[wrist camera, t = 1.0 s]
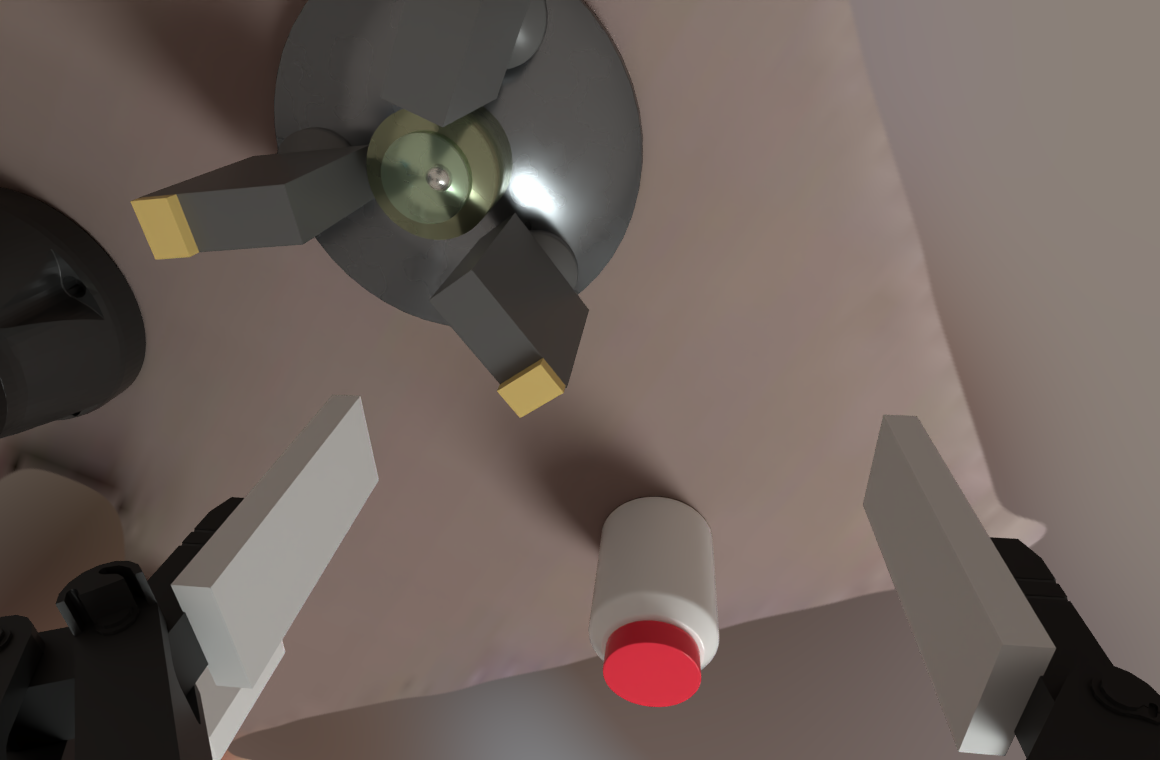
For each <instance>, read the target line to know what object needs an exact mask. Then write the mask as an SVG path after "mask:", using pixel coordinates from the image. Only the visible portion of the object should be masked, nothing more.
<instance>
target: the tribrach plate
mask: <svg viewBox="0 0 1160 760" xmlns="http://www.w3.org/2000/svg"><path fill="white" fill-rule="evenodd" d="M404 3H405V0H308V2H307V3H306V4H305V6H304V7H303V9H302V11H301V13H300V14H299V16H298V18H297V20H296V21H295V23H294V25H293V26H292V29H291V31H290V34H289V36H288V39H287V42H286V44H285V47H284V49H283V52H282V57H281V61H280V65H279V69H278V73H277V80H276V89H275V98H274V114H275V131H276V139H277V146H278V149H279V147H280V145H281V143H282V142H283V141H284V140H285V138H286V137H288V136H289V135H290V134H292V133H294V132H297V131H300V130H302V129H305V128H310V127H322V128H326V129H329V130H332V131H334V132H336V133H338V134H340V135H341V136H342V137H344V138H345V139H346V140H347V141H348V142H349V143H350V144H351V145H352V146H361V145H369V147H368V152H367V160H366V167H367V176H368V181H369V184H370V188H371V191H372V193H373V195H374V197H375V198H374V199H372V200H371V201H369V202H368V203H366V204H365V205H363V206H361V207H360V208H358V209H357V210H355V211H354V212H352V213H351V214H349V215H348V216H346V217H345V218H343V219H341V220H340V221H338V222H337V223H335V224H334V225H332V226H331V227H329V228H328V229H326V230H324V231H323V232H321V233H320V234H318V235H317V236H315V238H316V239H317V241H318V242H319V243H320V244H321V246H322V247H323V248H324V249H325V251H326V252H327V253H328V254H329V256H330V257H331V258H332V259H333V260H334V261H335V262H336V263H337V264H338V265H339V266H340V267H341V268H342V269H343V270H344V271H345V272H346V273H347V274H348V275H349V276H350V277H351V278H352V279H354V280H355V281H356V282H357V283H359V284H360V285H361V286H362V287H363V288H365V289H366V290H367V291H369V292H370V293H372V294H373V295H375V296H376V297H378V298H380V299H381V300H383V301H384V302H386V303H388V304H390V305H392V306H394V307H396V308H398V309H399V310H401V311H403V312H406V313H408V314H411V315H414V316H416V317H419V318H421V319H424V320H428V321H431V322H435V323H439V324H443V325H449V324H448V323H447V321H446V320H445V319H444V318H443V317H442V316H441V314H440V313H439V312H438V311H437V310H436V309H435V307H434V306H433V305H432V304H431V303H430V301H429V300H430V298H431V297H432V296H433V295H434V294H435V292H436V291H437V290H438V289H439V287H440V286H441V285H442V284H443V283H444V281H445V280H446V279H447V278H448V277H449V275H450V274H451V273H452V272H453V271H454V269H455V268H456V267H457V266H458V265H459V263H460V262H461V261H462V260H463V259H464V257H465V256H466V255H467V254H468V253H469V251H470V250H471V249H472V248H473V247H474V245H475V244H476V243H477V242H478V240H479V239H480V238H482V237H483V236H484V235H486V234H487V233H488V232H490V231H491V230H492V229H494V228H495V227H496V226H498V225H499V224H501V223H502V222H503V221H505V220H506V219H507V218H509V217H510V216H511V215H513V214H514V213H516V214H517V216H518V217H519V218H520V220H521V221H522V222H523V224H524V225H525V226H526V228H527V229H528V230H543V231H547V232H550V233H553V234H555V235H557V236H558V237H560V238H561V239H563V240H564V241H565V242H566V243H567V244H568V245H569V246H570V248H571V249H572V251H573V252H574V255H575V257H576V259H577V263H578V280H577V283H576V286H575V289H574V291H575V292H576V294H579V293H580V292H581V291H583V290H584V289H585V288H586V287H587V286H588V285H589V284H590V283H591V282H592V281H593V280H594V279H595V278H596V277H597V276H598V275H599V274H600V272H601V271H602V270H603V268H604V267H605V266H606V265H607V263H608V262H609V261H610V259H611V258H612V256H613V255H614V253H615V251H616V249H617V248H618V246H619V244H620V242H621V241H622V239H623V237H624V235H625V232H626V230H627V227H628V225H629V222H630V220H631V217H632V214H633V210H634V207H635V203H636V199H637V195H638V191H639V186H640V179H641V171H642V163H643V134H642V126H641V118H640V110H639V106H638V102H637V98H636V94H635V90H634V86H633V83H632V80H631V78H630V75H629V73H628V70H627V68H626V65H625V63H624V60H623V58H622V56H621V54H620V52H619V50H618V49H617V47H616V45H615V43H614V41H613V39H612V38H611V36H610V34H609V33H608V31H607V30H606V28H605V27H604V26H603V24H602V23H601V22H600V20H599V19H598V17H597V16H596V15H595V13H594V12H593V11H592V10H591V8H590V7H589V6H588V5H587V4H586V3H585V2H584V1H583V0H546V4H547V12H548V23H547V29H546V33H545V37H544V39H543V42H542V44H541V46H540V47H539V49H538V50H537V52H536V53H535V54H534V55H533V56H532V57H531V58H530V59H529V60H527V61H526V62H525V63H523V64H521V65H519V66H516V67H514V68H511V69H507V70H506V72H505V75H504V78H503V81H502V84H501V87H500V90H499V93H498V96H497V99H495V100H493V101H491V102H489V103H487V104H485V105H484V106H482V107H480V108H478V109H476V110H474V111H472V112H470V113H469V114H467V115H465V116H463V117H461V118H459V119H457V120H456V121H454V122H452V123H450V124H448V125H446V126H444V127H441V126H439V125H437V124H435V123H432V122H430V121H428V120H426V119H424V118H422V117H420V116H418V115H416V114H414V113H411V112H409V111H407V110H405V109H403V108H401V107H399V106H397V105H395V104H392V103H390V102H388V101H386V100H384V99H382V98H380V97H381V93H382V89H383V85H384V81H385V77H386V73H387V69H388V65H389V61H390V58H391V54H392V50H393V46H394V42H395V38H396V34H397V30H398V26H399V22H400V18H401V14H402V11H403V7H404ZM449 326H450V325H449Z"/></svg>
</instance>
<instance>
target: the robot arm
mask: <svg viewBox="0 0 1160 760" xmlns="http://www.w3.org/2000/svg"><path fill="white" fill-rule="evenodd" d="M145 347H146V340H145V329H144V324H143V320H142V316H141V313H140V310H139V307H138V304H137V302H136V299H135V297H134V295H133V293H132V291H131V289H130V287H129V285H128V284H127V282H126V280H125V278H124V277H123V275H122V274H121V272H120V271H119V269H118V268H117V267H116V265H115V264H114V262H113V261H112V260H111V259H110V257H109V256H108V255H107V254H106V253H105V252H104V250H103V249H102V248H101V247H100V246H99V245H98V244H97V243H96V242H95V241H94V240H93V239H92V238H91V237H90V236H89V235H88V234H87V233H86V232H84V231H83V230H82V229H81V228H80V227H78V226H77V225H76V224H75V223H73V222H72V221H71V220H69V219H68V218H67V217H65V216H64V215H62V214H61V213H59V212H58V211H56V210H54V209H53V208H51V207H49V206H48V205H46V204H44V203H42V202H40V201H38V200H36V199H34V198H32V197H29V196H27V195H24V194H22V193H19V192H16V191H13V190H9V189H5V188H1V187H0V438H4V437H7V436H10V435H14V434H17V433H20V432H23V431H26V430H29V429H32V428H34V427H37V426H40V425H43V424H46V423H49V422H52V421H55V420H65V419H71V418H75V417H78V416H82V415H85V414H88V413H90V412H92V411H94V410H96V409H98V408H100V407H101V406H103V405H104V404H106V403H107V402H109V401H110V400H112V399H113V398H114V397H116V396H117V395H119V394H120V393H122V392H123V391H124V390H126V389H127V388H128V387H129V386H130V385H131V384H132V383H133V382H134V380H135V379H136V377H137V376H138V374H139V372H140V370H141V367H142V364H143V361H144V356H145ZM378 480H379V479H378V474H377V470H376V465H375V461H374V456H373V451H372V447H371V442H370V438H369V433H368V429H367V424H366V419H365V415H364V410H363V406H362V401H361V397H360V396H347V395H332V396H331V397H330V399H329V400H328V401H327V402H326V403H325V404H324V406H323V407H322V408H321V409H320V410H319V411H318V413H317V414H316V415H315V416H314V417H313V418H312V420H311V421H310V422H309V423H308V424H307V426H306V427H305V428H304V429H303V430H302V431H301V433H300V434H299V435H298V436H297V437H296V438H295V440H294V441H293V442H292V443H291V444H290V445H289V447H288V448H287V449H286V450H285V451H284V453H283V454H282V455H281V456H280V457H279V458H278V460H277V461H276V462H275V463H274V464H273V465H272V467H271V468H270V469H269V470H268V471H267V472H266V474H265V475H264V476H263V477H262V478H261V479H260V481H259V482H258V483H257V484H256V485H255V487H254V488H253V489H252V490H251V491H250V492H249V494H248V495H247V496H246V497H245V498H236V497H231V498H230V499H228V500H227V501H225V502H224V503H222V504H220V505H219V506H217V507H216V508H214V509H213V510H211V511H210V512H209V513H208V514H207V515H206V516H205V517H204V518H203V520H202V521H201V522H200V523H199V524H198V525H197V526H196V527H195V530H194V532H191V533H190V534H189V535H188V536H187V537H186V539H185V540H184V541H183V542H182V546H178V547H177V549H176V550H175V551H174V552H173V553H172V554H171V555H170V556H169V557H168V559H167V560H166V561H165V562H164V563H163V564H162V565H161V566H160V567H159V569H158V570H157V571H156V572H155V573H154V574H153V575H152V576H151V577H150V579H149V580H148V581H147V580H146V578H145V576H144V574H143V572H142V570H141V568H140V567H139V565H138V564H136V563H133V562H130V561H114V562H110V563H106V564H102V565H99V566H96V567H94V568H92V569H90V570H88V571H86V572H84V573H82V574H81V575H79V576H78V577H76V578H75V579H74V580H72V581H71V582H69V583H68V584H67V586H66V587H65V588H64V589H63V590H62V591H61V592H60V593H59V596H58V599H57V602H56V606H57V607H58V609H59V611H60V613H61V614H62V616H63V618H64V619H65V621H66V623H67V625H68V626H69V627H65V628H60V629H55V630H49V631H44V632H39V633H38V632H37V630H36V629H35V627H34V625H33V624H32V623H31V621H30V620H29V619H28V618H27V617H23V616H19V615H13V616H5V617H0V760H213V758H212V753H211V748H210V742H209V737H208V732H207V727H206V721H205V716H204V711H203V705H202V700H201V695H200V692H199V690H198V688H197V686H196V684H195V683H196V681H197V680H198V679H199V677H200V676H201V674H202V673H203V671H204V670H205V668H206V667H207V666H208V669H209V671H210V673H211V675H212V677H213V680H214V682H215V684H216V686H227V687H238V688H250V689H253V687H254V685H255V684H256V682H257V680H258V679H259V677H260V676H261V674H262V672H263V671H264V669H265V667H266V666H267V664H268V662H269V661H270V659H271V657H272V656H273V654H274V652H275V651H276V649H277V647H278V646H279V644H280V642H281V641H282V639H283V638H284V636H285V634H286V633H287V631H288V629H289V628H290V626H291V624H292V623H293V621H294V619H295V618H296V616H297V614H298V613H299V611H300V609H301V608H302V606H303V604H304V603H305V601H306V599H307V598H308V596H309V595H310V593H311V591H312V590H313V588H314V586H315V585H316V583H317V581H318V580H319V578H320V576H321V575H322V573H323V571H324V570H325V568H326V566H327V565H328V563H329V561H330V560H331V558H332V556H333V555H334V553H335V552H336V550H337V548H338V547H339V545H340V543H341V542H342V540H343V538H344V537H345V535H346V533H347V532H348V530H349V528H350V527H351V525H352V523H353V522H354V520H355V518H356V517H357V515H358V513H359V512H360V510H361V509H362V507H363V505H364V504H365V502H366V500H367V499H368V497H369V495H370V494H371V492H372V490H373V489H374V487H375V485H376V484H377V482H378ZM863 506H864V509H865V511H866V514H867V517H868V519H869V522H870V524H871V527H872V529H873V532H874V535H875V537H876V540H877V542H878V545H879V548H880V550H881V553H882V555H883V558H884V561H885V563H886V566H887V568H888V571H889V573H890V576H891V579H892V581H893V584H894V586H895V589H896V592H897V594H898V597H899V599H900V602H901V604H902V607H903V610H904V612H905V615H906V617H907V620H908V622H909V625H910V628H911V630H912V633H913V636H914V638H915V641H916V643H917V646H918V648H919V650H920V654H921V656H922V659H923V661H924V664H925V666H926V669H927V672H928V674H929V677H930V679H931V682H932V685H933V687H934V690H935V692H936V695H937V698H938V700H939V703H940V705H941V708H942V710H943V713H944V715H945V718H946V721H947V723H948V726H949V728H950V731H951V733H952V736H953V739H954V742H955V744H956V747H957V749H958V752H967V753H979V754H989V755H1000V756H1005V755H1006V753H1007V751H1008V749H1009V747H1010V745H1011V743H1012V741H1013V738H1014V736H1015V735H1016V737H1017V739H1018V741H1019V743H1020V745H1021V747H1022V749H1023V751H1024V754H1025V756H1026V758H1027V759H1026V760H1160V695H1159V694H1158V693H1157V692H1156V691H1155V690H1154V689H1153V688H1152V687H1151V686H1150V685H1148V684H1147V683H1146V682H1144V681H1142V680H1141V679H1139V678H1138V677H1136V676H1135V675H1133V674H1132V673H1130V672H1128V671H1125V670H1123V669H1120V668H1118V667H1115V666H1113V664H1112V663H1111V661H1110V660H1109V658H1108V657H1107V655H1106V654H1105V652H1104V651H1103V649H1102V648H1101V646H1100V645H1099V644H1098V642H1097V641H1096V639H1095V637H1094V636H1093V634H1092V633H1091V631H1090V630H1089V628H1088V627H1087V626H1086V624H1085V623H1084V621H1083V619H1082V618H1081V617H1080V615H1079V614H1078V612H1077V611H1076V609H1075V608H1074V606H1073V605H1072V603H1071V602H1070V601H1068V600H1067V596H1066V594H1065V593H1064V591H1063V590H1062V588H1061V587H1060V585H1059V584H1056V580H1055V578H1054V576H1053V575H1052V574H1051V572H1050V570H1049V569H1048V567H1047V566H1046V564H1045V563H1044V561H1043V560H1042V558H1041V557H1039V556H1038V555H1037V554H1036V553H1034V552H1033V551H1032V550H1031V549H1030V548H1028V547H1027V546H1026V545H1025V544H1023V543H1022V542H1021V541H1020V540H1019V539H1010V538H992V537H989V535H988V534H987V532H986V530H985V529H984V527H983V525H982V524H981V522H980V520H979V519H978V517H977V515H976V514H975V512H974V510H973V509H972V507H971V505H970V504H969V502H968V500H967V499H966V497H965V495H964V494H963V492H962V490H961V489H960V487H959V485H958V484H957V482H956V480H955V479H954V477H953V475H952V474H951V472H950V470H949V469H948V467H947V465H946V464H945V462H944V460H943V459H942V457H941V455H940V454H939V452H938V450H937V449H936V447H935V445H934V444H933V442H932V440H931V439H930V437H929V435H928V434H927V432H926V430H925V429H924V427H923V425H922V424H921V422H920V420H919V419H918V417H917V416H904V415H883V419H882V423H881V427H880V432H879V436H878V440H877V445H876V449H875V454H874V458H873V462H872V467H871V471H870V475H869V480H868V484H867V489H866V493H865V497H864V502H863Z"/></svg>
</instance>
